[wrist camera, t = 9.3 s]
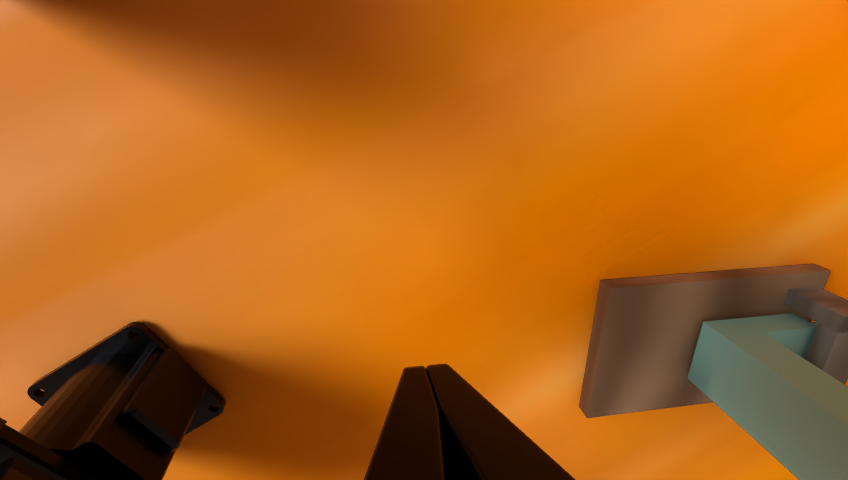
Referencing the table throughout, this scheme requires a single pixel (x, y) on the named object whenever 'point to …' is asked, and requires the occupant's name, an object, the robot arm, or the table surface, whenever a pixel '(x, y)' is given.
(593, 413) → the bracket
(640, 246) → the table surface
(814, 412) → the teal block
